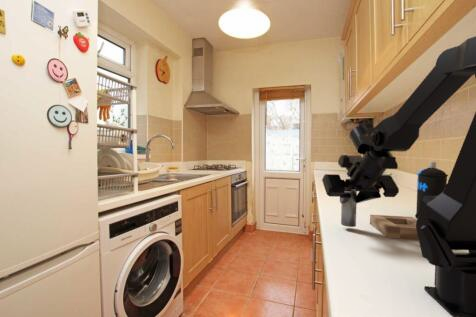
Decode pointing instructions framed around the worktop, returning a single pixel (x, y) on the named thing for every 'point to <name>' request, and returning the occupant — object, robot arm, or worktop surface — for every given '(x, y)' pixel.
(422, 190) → the aerosol can
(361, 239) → the worktop surface
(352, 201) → the metal pin
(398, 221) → the wooden square frame
